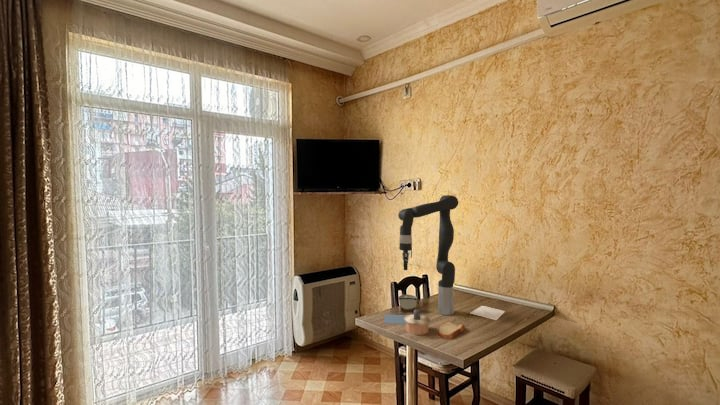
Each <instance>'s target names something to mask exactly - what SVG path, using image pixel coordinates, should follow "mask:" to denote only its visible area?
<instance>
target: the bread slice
mask: <svg viewBox="0 0 720 405" xmlns="http://www.w3.org/2000/svg"><path fill="white" fill-rule="evenodd" d="M438 328H439V329H438V330H437V334H438V337H440V338H441V339H444V340H452V339H454V338H456V337H457V336H459V335H460V334H461V333H463V332H464V330H465V328H466V326H465V325H464V324H458V323H455V322H453V321H448V322H447V321H446V322H445V323H443V324H441V325H440V326H439V327H438Z"/></svg>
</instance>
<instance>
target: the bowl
mask: <svg viewBox="0 0 720 405" xmlns="http://www.w3.org/2000/svg"><path fill="white" fill-rule="evenodd" d="M405 331H406V332H407V333H409V334H412V335H415V336H417V337H419V336H421V335H426V334H428V333H429V323H428V324H425V325H413V324H409V323H407V322H406V324H405Z"/></svg>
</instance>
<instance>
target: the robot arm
mask: <svg viewBox="0 0 720 405" xmlns="http://www.w3.org/2000/svg"><path fill="white" fill-rule="evenodd" d="M458 205H459V199H458V198H457V197H456V196H455V195H451V194H450V195H449V194H447V195H442V196H441V197H440V199H439V200H438V201H434V202H428V203H423V204H419V205H416V206H413V207H408V208H404V209H401V210H399V212H398V213H397V214H398V215H397V216H398V219H400V221H402V224H401V225H400V227H399V241H398V242H399V246H398V247H399V250H400V251H402V253H401V254H402V255H401V256H402V261H403V270H404V271H408V266H409V265H408V264H409V257H410V253H409V251H412V249H413V241H412V240H413V237H412V236H413V235H412V233H413V232H412V228H413V224H414V219H415V218H422V217H424V216H429V215H431V214H435V213H437V212H439V231H438V246H437V247H438V249H437V257H436V258H437V259H436V266H435V268H436V271H437V272H438V273H439V274H440V275H441V279H439V281H438V284H437V285H438V286H437V290H438V292H437V295H438V297H437V299H438V300H437V302H438V303H437V306H438V307H437V308H438V309H437V311H438V312H437V313H438V314H440V315H444V316H451V315H454V314H455V313H454V309H455V307H454V306H455V305H454V304H455V303H454V284H455V281H456V280H455V278H456V266H455V264H454V263H453V262H452V261H449V252H450V250H451V247H452V245H453V243H454V238H455V237H454V236H455V230H454V226H453V224H452V219H451V211H452V210H455V209H456V208H457V207H458Z"/></svg>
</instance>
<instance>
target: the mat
mask: <svg viewBox="0 0 720 405" xmlns="http://www.w3.org/2000/svg"><path fill="white" fill-rule="evenodd" d="M407 315H408V314H390V313H389V314H387V313H386V314H384V320H383V324H387V325H388V324H390V325H392V324H393V325H406V322H405V320H404V317H405V316H407Z"/></svg>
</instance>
